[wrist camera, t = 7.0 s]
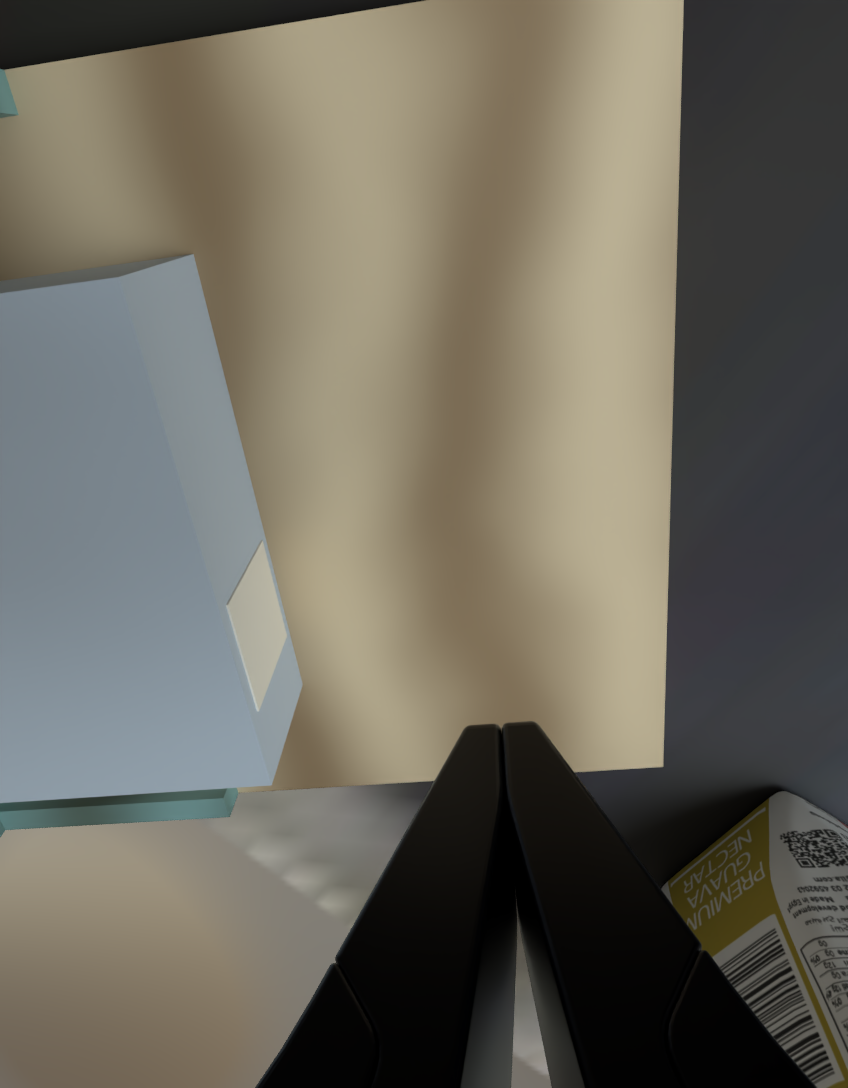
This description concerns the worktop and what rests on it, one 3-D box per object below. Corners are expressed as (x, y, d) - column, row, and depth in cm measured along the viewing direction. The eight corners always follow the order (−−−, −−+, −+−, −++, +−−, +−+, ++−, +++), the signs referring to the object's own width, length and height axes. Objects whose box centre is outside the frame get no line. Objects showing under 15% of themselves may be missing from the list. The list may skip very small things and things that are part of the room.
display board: (668, -27, 15) (728, -84, 11) (653, 739, 24) (685, 832, 20) (-314, 133, 17) (-503, 124, 13) (13, 781, 26) (-53, 870, 22)
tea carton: (195, 253, 16) (122, 276, 13) (304, 684, 22) (273, 785, 18) (-176, 305, 17) (-342, 340, 14) (16, 706, 23) (-67, 807, 19)
